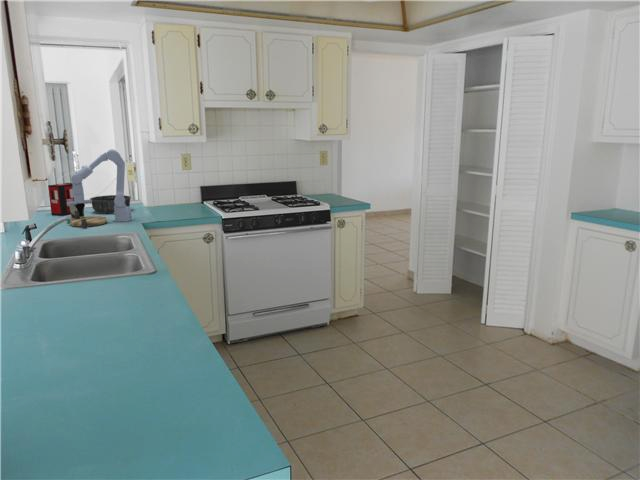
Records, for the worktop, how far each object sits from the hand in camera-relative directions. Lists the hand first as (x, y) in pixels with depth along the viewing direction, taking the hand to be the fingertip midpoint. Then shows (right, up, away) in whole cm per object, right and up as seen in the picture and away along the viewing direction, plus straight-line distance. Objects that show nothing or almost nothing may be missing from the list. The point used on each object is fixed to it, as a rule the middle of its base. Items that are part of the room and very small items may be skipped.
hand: (81, 216), depth 301 cm
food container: (-9, -1, +17) cm, 19 cm away
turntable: (+6, -5, -3) cm, 8 cm away
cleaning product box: (-26, +3, +33) cm, 41 cm away
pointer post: (+9, -8, -14) cm, 18 cm away
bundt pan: (+2, +5, +41) cm, 41 cm away
